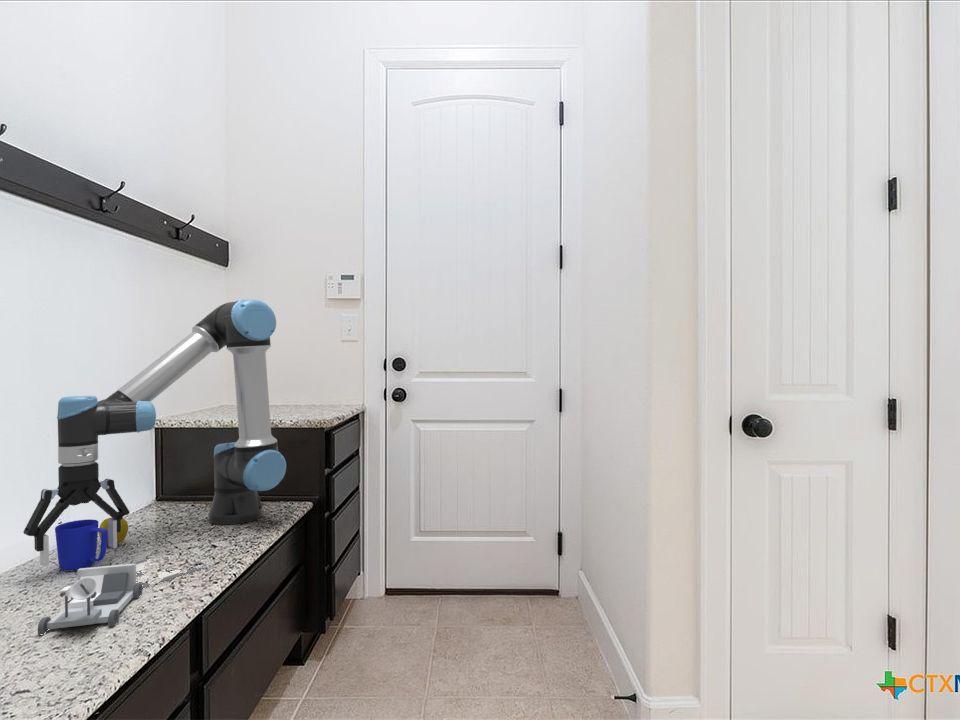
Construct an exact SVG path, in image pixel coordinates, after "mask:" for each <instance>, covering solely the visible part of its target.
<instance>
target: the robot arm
mask: <svg viewBox="0 0 960 720" xmlns="http://www.w3.org/2000/svg"><path fill="white" fill-rule="evenodd" d="M276 329H277V319H276V315H275V312H274V311H273V309H272V308H271V306H269V305H268V304H267V303H265V302H264V301H262V300H259V299H253V298H252V299H250V298H246V299H240V300H235V301H231V302H230V301H229V302H226V303H223V304H221V305H218V307H216V308H215V309H214V310H212V311H211V312H210V313H209V314H207V315H206V316H205V317H204V318H203V319H202V318H201V320H200V321H198V323H196V324H195V325H194V326H193V327H192V329H191V332H190V334H188V335H187V336H185V338H183V339H181V340H180V341H179V342H178V343H176V344H175V345H174V346H172V347H171V348H170V349H169V350H167V351H166V352H165V353H163V355H161V356H160V357H159V358H157V359H156V360H155V361H153V362H152V363H150V364H149V365H148V366H147V367H145V368H144V369H143V370H141V371H140V372H139V373H138V374H136V375H135V376H134V377H133V378H131V379H130V380H129V381H127V382H126V383H125V384H124V385H122V386H121V387H119V388H118V389H117V390H116V391H115V392H113V393H112V394H110V395H109V396H108V397H106V398H105V399H101V400H98V397H97V396H96V395H73V396H71V395H70V396H64V397H61V398H60V399H59V400H58V405H57V416H56V419H57V438H58V439H57V444H58V445H57V452H58V453H57V457H58V459H57V464H60V466H59V467H58V469H57V470H58V472H57V473H58V486H57V489H56V488H54V489H53V488H52V489H47V488H43V489H42V490H41V492H40V499H39V502H38V503H37V505H36V507H35V508H34V511H33V512H32V514H31V516H30V519H28V522H27V524H26V526H25V528H24V529H23V535H26V536H29V537H33V538H34V550H35V551H36V552H39V565H41V566H43V567H48V566H50V553H49V552H50V548H49V547H50V544H49V543H50V542H49V541H50V540H49V539H50V538H49V537H50V536H49V535H48V534H46V533H47V532H48V531H49V529H50V528H51V527H52V525H53V524H54V523H55V522H56V521H57V520H58V518H59V517H60V516H61V515H62V514H63V512H64V511H65V510H66V509H68V508H69V507H70V506H78V505H81V504H89V502H92V503H94V504H95V505H97V507H99V508H100V509H101V510H102V511H103V512H104V513H106V514H107V515H109V516H110V518H112V519H109V520H108V546H107V547H108V548H111V549H117V548H118V544H117V533H118V532H120V531H121V519H122V518H124V517H125V516H128V515H129V514H130V510H129V508H128V507H127V504H126V503H125V502H124V501H123V499H122V497H121V495H120V494H119V492H118V491H117V489H116V486H115V485H116V484H115V480H114V479H111V478H104V480H102V481H101V480H99V477H100V475H99V474H100V473H99V470H100V469H99V467H100V466H99V463H98V462H96V461H98V460H99V436H104V435H105V436H106V435H117V434H128V433H131V434H132V433H140V432H141V433H142V432H147V431H152V429H154V427H155V425H156V421H157V420H156V419H157V413H156V412H157V411H156V406H154V403H153V402H152V401H153V400H154V399H156V398H157V397H158V396H159V395H160V394H162V393H163V392H164V391H166V390H167V389H168V388H170V387H171V386H172V385H173V384H174V383H176V381H178V380H179V379H181V377H184V375H185V374H187V373H188V372H189V371H191V369H193V368H194V367H195V366H196V365H197V364H199V363H200V362H201V361H202V360H203V359H205V358H206V357H207V356H209V355H210V354H211V353H218V352H219V351H221V349H223V348H224V347H226V350H228V351H229V352H230V353H231V354H232V357H233V372H234V373H233V374H234V384H235V387H234V388H235V397H236V413H237V425H238V426H237V427H238V439H237V440H236V441H233V442H226V443H219V444H216V445H215V446H214V450H213V455H212V456H213V474H214V477H213V479H214V480H213V481H214V496H213V499H212V502H211V505H210V508H209V512H208V522H209V523H210V522H211V523H210V524H213V523H214V524H213V525H237V524H243V523H247V522H252V521H255V520H258V519H260V518H262V517H263V515H264V507H263V504H262V501H261V498H260V496H259V493H258V492H266V491H269V490H271V489H273V488H275V487H276V486H278V485H279V484H280V483H281V481H283V479H284V478H285V475H286V473H287V472H286V471H287V461H286V458H285V457H284V455H282V453H281V452H280V451H279V446H278V445H279V444H278V439H277V438H275V437H274V436H273V434H272V425H271V424H272V423H271V414H270V413H271V412H270V399H269V385H268V383H269V382H268V370H267V358H266V357H267V356H266V355H267V353H266V352H268V350H269V349H270V348H271V347H272V346H271V344H272V343H271V336H272V335H273V334H274V332H275V331H276ZM101 488H102V489H103V490H105V492H106V494H108V496H109V498H110V500H111V501H112V503H113V505H114V506H115V508H116V509H117V510H115V509H114V508H113V507H112V506H111V505H110V504H109V503H108V502H106V501H105V499H103V498H102V497H101V496H100V495H99V494H98V492H99V490H100V489H101ZM55 496H58V497H59V498H58V499H59V500H57V502H56V503H55V505H54V507H53V508H52V509H51V510H50V512H49V513H47V515H46V516H45V518H44V519H43V517H44V515H45V513H46V511H48V510H47V509H48V508H49V506H50V504H51V502H52V500H53V499H55ZM42 519H43V520H42Z"/></svg>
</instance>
